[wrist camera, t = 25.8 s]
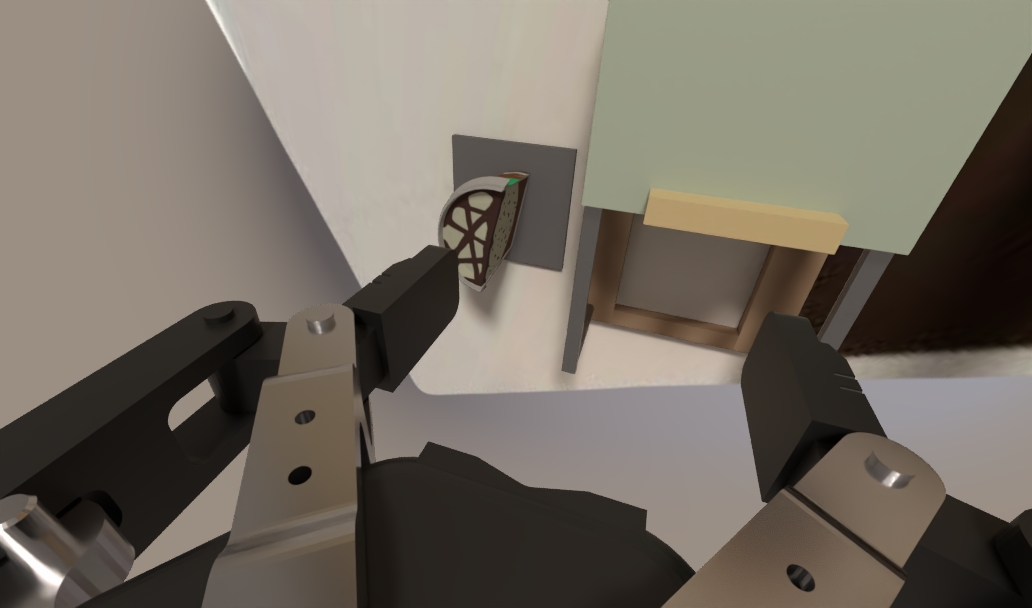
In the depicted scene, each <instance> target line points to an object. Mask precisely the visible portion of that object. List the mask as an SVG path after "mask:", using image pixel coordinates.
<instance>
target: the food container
mask: <svg viewBox="0 0 1032 608" xmlns="http://www.w3.org/2000/svg"><path fill="white" fill-rule="evenodd" d="M530 174H531V173H527V172H523V171H509V172H505V173H503V174H501V175H498V176H496V177H493V176H489V177H480V178H476V179H472V180H470V181H468V182H466V183H464V184H463V185H461V186H460V187H459V188H457V189H456V190H455V192H454V193H453V194H452V195H451V196H450V198H449V200H448V201H447V203H446V204H445V206H444V208H443V210H442V212H441V215H440V219H439V225H438V242H439V246H440V247H444V248H449V249H454V250H455V251H456V252H457V255H458V270H459V280H460V281H462V282H463V283H464V284H465V285H467V286H469V287H470V288H472V289H473V290H476V291H478V292H480V291H483V290H484V289H485V288H486V286H485V285H486V283H487V282H488V280H489V279H490V277H491V276H492V275H493V273H494V272H495V270H496V269H497V267H498V266H499V265H500V263H501V262H502V260H503V259H504V258H505V256H506V255H507V253H508V252H509V250H510V249H511V248H512V245H513V241H514V237H515V233H516V229H517V225H518V221H519V217H520V213H521V209H522V205H523V201H524V198H525V194H526V190H527V186H528V182H529V178H530Z"/></svg>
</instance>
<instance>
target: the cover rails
mask: <svg viewBox="0 0 1032 608" xmlns="http://www.w3.org/2000/svg"><path fill="white" fill-rule="evenodd" d="M602 212H603V208H597V207H591V206H585V208H584V215H583V222H582V229H581V236H580V243H579V250H578V257H577V264H576V272H575V279H574V286H573V293H572V300H571V307H570V314H569V321H568V328H567V336H566V343H565V350H564V357H563V364H562V371H564V372H568V373H572V374H575V372H576V369H577V363H578V359H579V356H580V353H581V350H582V347H583V343H584V340H585V337H586V334H587V331H588V327H589V324H590V321H591V318H592V315H593V311H594V307H593V305H591V304H589V303H588V297H589V290H590V284H591V278H592V272H593V266H594V260H595V254H596V248H597V242H598V236H599V230H600V224H601V218H602ZM893 255H894V253H891V252H885V251H878V250H872V249H864V251H863V253H862V255H861V257H860V259H859V260H858V262H857V264H856V266H855V268H854V270H853V271H852V273H851V275H850V277H849V279H848V281H847V282H846V284H845V286H844V288H843V290H842V292H841V294H840V295H839V297H838V299H837V301H836V303H835V305H834V306H833V308H832V310H831V312H830V314H829V316H828V317H827V319H826V321H825V323H824V325H823V327H822V328H821V330H820V332H819V334H818V336H817V338H818V340H819V342H822V343H827V344H829V345H831V346H832V347H833V348H834V349H835V350H836V351H837V350H838V348H839V347H840V345H841V343H842V342H843V340H844V338H845V336H846V335H847V333H848V331H849V330H850V328H851V326H852V325H853V323H854V321H855V319H856V318H857V316H858V314H859V313H860V311H861V309H862V308H863V306H864V304H865V303H866V301H867V299H868V297H869V296H870V294H871V292H872V291H873V289H874V287H875V286H876V284H877V282H878V280H879V279H880V277H881V275H882V274H883V272H884V270H885V269H886V267H887V265H888V263H889V262H890V260H891V258H892V257H893Z"/></svg>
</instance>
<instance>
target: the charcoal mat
mask: <svg viewBox="0 0 1032 608" xmlns="http://www.w3.org/2000/svg"><path fill="white" fill-rule="evenodd" d="M452 148H453V179H454V192H455V190H456V189H457V188H459V187H460V186H461V185H463V184H464V183H466V182H468V181H470V180H472V179H476V178H480V177H489V176H493V177H496V176H498V175H501V174H503V173H505V172H509V171H523V172H527V173H531V174H530V178H529V182H528V186H527V190H526V194H525V198H524V201H523V205H522V209H521V213H520V217H519V221H518V225H517V229H516V233H515V237H514V241H513V245H512V248H511V249H510V250H509V252H508V253H507V255H506V256H505V258H504V259H506V260H511V261H516V262H522V263H527V264H532V265H537V266H542V267H548V268H553V269H558V270H562V268H563V261H564V253H565V245H566V237H567V228H568V220H569V212H570V204H571V195H572V187H573V179H574V171H575V162H576V154H577V149H570V148H562V147H554V146H546V145H538V144H529V143H521V142H513V141H505V140H497V139H488V138H480V137H472V136H464V135H455V134H454V135H452Z"/></svg>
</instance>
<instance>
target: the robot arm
mask: <svg viewBox="0 0 1032 608" xmlns="http://www.w3.org/2000/svg"><path fill="white" fill-rule="evenodd" d="M458 305H459V270H458V255H457V252H456V251H455V250H454V249H449V248H444V247H439V246H433V245H428V246H426V247H425V248H424V249H423V250H422V251H420V252H419V253H418V254H417V255H415V256H414V257H413V258H408V259H406V260H403V261H401V262H398V263H395V264H393V265H392V266H390V267H389V268H388V269H387V270H385V271H384V272H383V273H382V275H379V276H378V277H376V278H375V279H374V280H373V281H372V283H369V284H367V285H366V286H365V287H364V288H362V289H361V290H360V291H359V292H357V293H356V294H355V295H353V296H352V297H351V298H350V299H349V300H347V301H346V302H345V303H343V304H342V305H339V304H320V305H316V306H311V307H308V308H306V309H303V310H301V311H299V312H298V313H296V314H295V315H293V316H292V317H291V318H290V319H289V321H288V322H260V321H259V318H258V315H257V312H256V309H255V307H254V306H253V305H252V304H250V303H247V302H243V301H226V302H220V303H215V304H212V305H209V306H206V307H203V308H201V309H199V310H197V311H195V312H193V313H192V314H190V315H188V316H187V317H185V318H183V319H182V320H180V321H178V322H177V323H175V324H174V325H172V326H170V327H169V328H167V329H165V330H164V331H162V332H160V333H159V334H157V335H155V336H154V337H152V338H151V339H149V340H147V341H146V342H144V343H142V344H140V345H139V346H137V347H135V348H134V349H132V350H131V351H129V352H127V353H126V354H124V355H122V356H121V357H119V358H117V359H116V360H114V361H112V362H111V363H109V364H108V365H106V366H104V367H102V368H101V369H99V370H97V371H96V372H94V373H92V374H91V375H89V376H88V377H86V378H84V379H83V380H81V381H79V382H78V383H76V384H74V385H73V386H71V387H69V388H68V389H66V390H64V391H63V392H61V393H59V394H58V395H56V396H55V397H53V398H51V399H49V400H48V401H46V402H45V403H43V404H41V405H40V406H38V407H36V408H35V409H33V410H31V411H30V412H28V413H26V414H25V415H23V416H21V417H20V418H18V419H16V420H15V421H13V422H12V423H10V424H8V425H6V426H5V427H3V428H2V429H0V608H1032V509H1029V510H1025V511H1024V512H1023V513H1021V514H1020V515H1019V516H1018V517H1016V518H1015V519H1014V520H1013V521H1011V522H1010V523H1008V522H1006V521H1004V520H1001V519H1000V518H997V517H995V516H993V515H990V514H989V513H986V512H984V511H982V510H980V509H977V508H975V507H973V506H971V505H969V504H967V503H964V502H962V501H960V500H958V499H956V498H954V497H952V496H950V495H947V494H946V489H945V486H944V484H943V482H942V480H941V478H940V477H939V475H938V474H937V473H936V472H935V471H934V469H933V468H932V467H931V466H930V465H929V464H928V463H926V462H925V461H924V460H923V459H922V458H921V457H919V456H918V455H917V454H915V453H914V452H912V451H911V450H909V449H908V448H906V447H904V446H902V445H900V444H899V443H897V442H894V441H892V440H890V439H888V438H887V436H886V434H885V432H884V430H883V428H882V427H881V425H880V423H879V421H878V419H877V417H876V415H875V413H874V411H873V410H872V408H871V406H870V404H869V402H868V400H867V398H866V396H865V394H862V389H861V387H860V385H859V383H858V381H857V380H855V375H854V373H853V371H852V370H851V368H850V366H849V364H848V362H847V360H846V359H845V358H844V357H843V356H842V355H840V354H839V353H838V352H837V351H836V350H835V349H834V348H833V347H832V346H831V345H829V344H827V343H822V342H819V340H818V338H817V336H816V334H815V332H814V330H813V328H812V325H811V323H810V321H809V320H808V319H807V318H805V317H800V316H794V315H789V314H784V313H779V312H774V311H770V312H769V313H768V314H767V315H766V316H765V318H764V320H763V322H762V325H761V327H760V329H759V331H758V334H757V336H756V338H755V340H754V343H753V345H752V347H751V349H750V352H749V354H748V356H747V358H746V361H745V363H744V366H743V370H742V376H741V388H742V394H743V399H744V404H745V410H746V416H747V421H748V427H749V433H750V438H751V444H752V449H753V455H754V459H755V465H756V471H757V476H758V482H759V488H760V493H761V499H762V502H766V503H768V504H767V505H766V506H765V507H764V508H762V509H761V510H760V511H759V513H757V514H756V515H755V516H754V517H753V518H752V519H751V520H750V521H749V522H748V523H747V524H746V525H745V526H744V527H743V528H742V529H741V530H740V531H739V532H738V533H737V534H736V535H735V536H734V537H733V538H732V539H731V540H730V541H729V542H728V543H727V544H726V545H725V546H723V547H722V549H721V550H719V551H718V552H717V553H716V554H715V555H714V556H713V557H712V558H711V559H710V560H709V561H708V562H707V563H706V564H705V565H704V566H703V567H702V568H701V569H700V570H699V571H698V572H697V573H696V572H695V571H694V570H693V569H692V568H691V567H690V566H689V565H688V564H687V562H686V561H685V560H684V559H682V557H681V556H680V555H678V554H677V553H676V552H675V551H674V550H673V549H672V548H671V547H670V546H668V545H667V544H666V543H664V542H663V541H662V540H660V539H659V538H657V537H656V536H655V535H653V534H651V533H650V532H648V531H646V517H647V510H645V509H641V508H638V507H635V506H632V505H629V504H625V503H622V502H619V501H616V500H613V499H610V498H607V497H603V496H600V495H596V494H594V493H591V492H585V491H573V490H560V489H548V488H534V487H528V486H525V485H523V484H521V483H519V482H517V481H516V480H514V479H512V478H511V477H509V476H508V475H506V474H504V473H503V472H501V471H499V470H498V469H496V468H495V467H493V466H491V465H489V464H488V463H486V462H485V461H483V460H481V459H480V458H478V457H476V456H473V455H470V454H467V453H463V452H460V451H457V450H454V449H451V448H447V447H444V446H441V445H438V444H435V443H432V442H428V443H427V444H426V446H425V448H424V449H423V451H422V452H421V454H420V455H419V457H399V458H392V459H387V460H383V461H379V462H376V459H375V447H374V435H373V424H372V411H371V401H370V396H369V394H370V393H371V392H372V391H373V390H374V389H375V388H379V389H382V390H386V391H389V392H392V393H393V392H394V391H395V389H396V388H397V387H398V386H399V385H400V383H401V382H402V381H403V379H404V378H405V377H406V376H407V375H408V373H409V372H410V371H411V370H412V369H413V367H414V366H415V365H416V364H417V362H418V361H419V360H420V359H421V357H422V356H423V355H424V354H425V352H426V351H427V350H428V349H429V348H430V346H431V345H432V344H433V343H434V341H435V340H436V339H437V338H438V336H439V335H440V334H441V333H442V332H443V330H444V329H445V328H446V327H447V325H448V324H449V323H450V322H451V320H452V319H453V318H454V316H455V314H456V312H457V309H458ZM206 379H208V381H209V383H210V386H211V387H212V389H213V392H214V394H215V396H214V397H213V398H212V399H211V400H209V401H208V402H207V403H206V404H205V405H203V406H202V407H201V408H200V409H198V410H197V411H196V412H195V413H194V414H192V415H191V416H190V417H189V418H188V419H186V420H185V421H184V422H183V423H182V424H180V425H179V426H178V427H177V428H175V429H174V430H173V431H171V429H170V427H169V425H168V416H169V413H170V410H171V409H172V407H173V406H174V405H175V403H176V402H177V401H179V400H180V399H181V398H182V397H183V396H185V395H186V394H187V393H189V392H190V391H191V390H193V389H194V388H195V387H196V386H198V385H199V384H200V383H201V382H203V381H204V380H206ZM249 443H250V445H249V449H248V454H247V459H246V463H245V468H244V473H243V477H242V482H241V487H240V491H239V496H238V501H237V505H236V510H235V515H234V519H233V524H232V529H231V531H229V532H227V533H225V534H223V535H221V536H219V537H216V538H214V539H212V540H210V541H208V542H206V543H204V544H202V545H200V546H198V547H196V548H194V549H192V550H190V551H188V552H186V553H183V554H181V555H180V556H177V557H175V558H173V559H171V560H169V561H167V562H165V563H163V564H161V565H159V566H157V567H155V568H153V569H151V570H149V571H146V572H144V573H142V574H140V575H138V576H136V577H134V578H132V579H130V580H128V581H126V582H124V580H125V579H126V577H127V576H128V574H129V572H130V570H131V568H132V565H133V562H134V560H135V559H136V558H137V557H138V556H139V555H140V554H141V553H142V552H143V551H144V550H145V549H146V548H147V547H148V546H149V545H150V544H151V543H152V542H153V541H154V540H155V539H156V538H157V537H158V536H159V535H160V534H161V533H162V532H163V531H164V530H165V529H166V527H168V526H169V525H170V524H171V523H172V522H173V520H175V519H176V518H177V517H178V516H179V514H181V512H182V511H183V510H184V509H185V508H186V507H187V506H188V505H189V504H190V503H191V502H192V501H193V500H194V499H195V498H196V497H197V496H198V495H199V494H200V493H201V492H202V491H203V490H204V489H205V488H206V487H207V486H208V485H209V484H210V483H211V482H212V481H213V480H214V479H215V478H216V477H217V476H218V475H219V474H220V472H222V471H223V470H224V469H225V468H226V467H227V466H228V465H229V464H230V462H231V461H232V460H233V459H234V458H235V457H236V456H237V455H238V454H239V453H240V452H241V451H242V450H243V449H244V448H245V447H246V446H247V445H248V444H249ZM123 582H124V583H123Z"/></svg>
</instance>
